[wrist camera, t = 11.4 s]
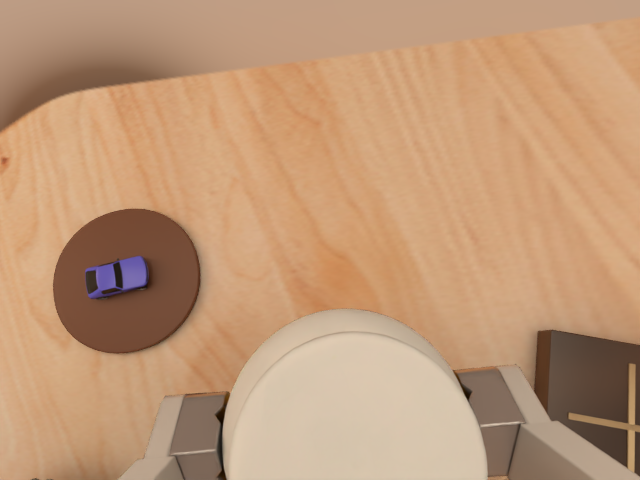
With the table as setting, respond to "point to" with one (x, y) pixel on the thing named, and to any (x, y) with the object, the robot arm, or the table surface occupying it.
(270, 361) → the supplement bottle
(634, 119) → the table surface
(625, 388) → the board
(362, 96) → the table surface
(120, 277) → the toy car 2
